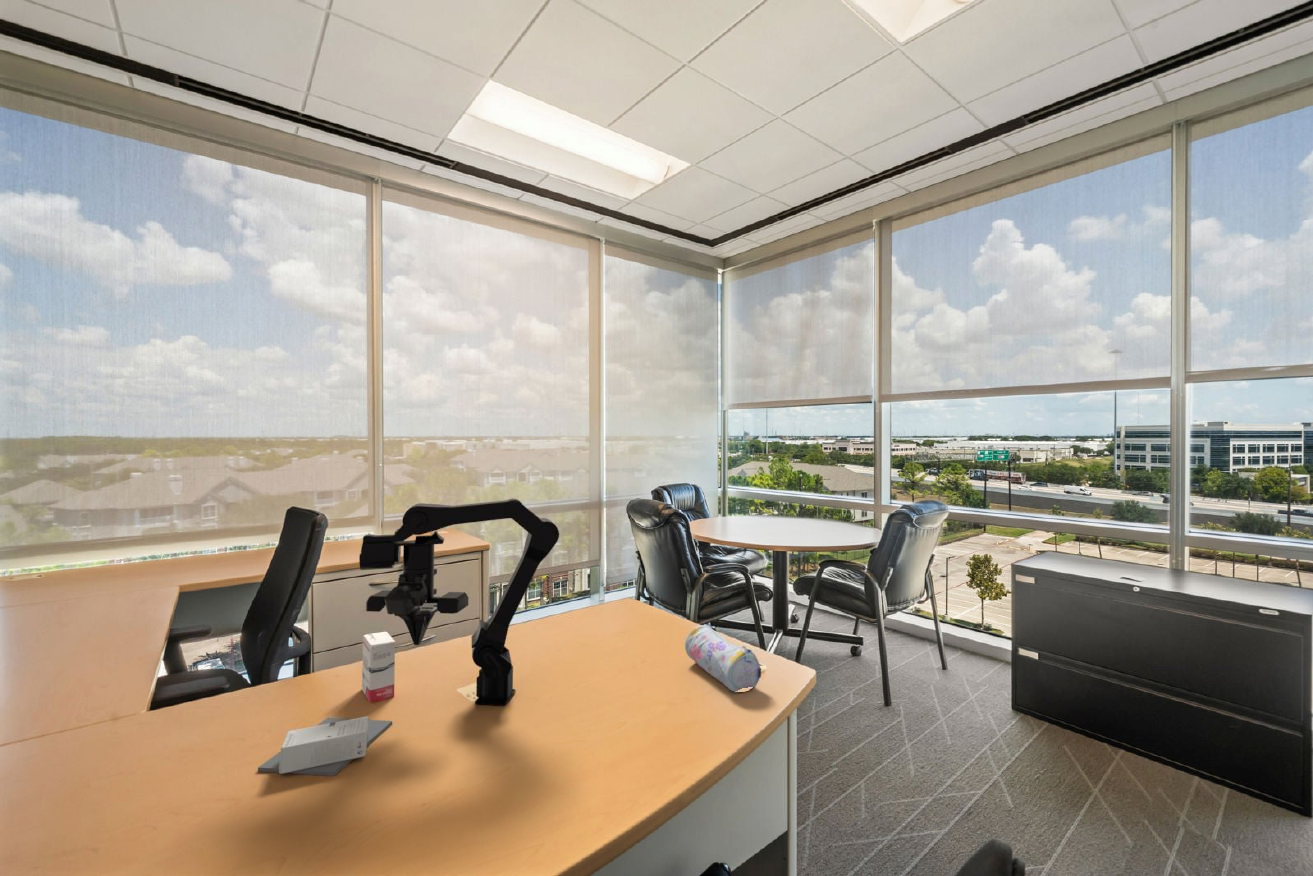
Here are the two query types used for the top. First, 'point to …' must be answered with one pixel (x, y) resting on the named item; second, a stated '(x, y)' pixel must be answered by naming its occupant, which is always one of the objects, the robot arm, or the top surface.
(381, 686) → the ink box
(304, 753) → the skincare box
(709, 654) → the pencil case
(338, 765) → the mat
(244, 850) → the top surface
